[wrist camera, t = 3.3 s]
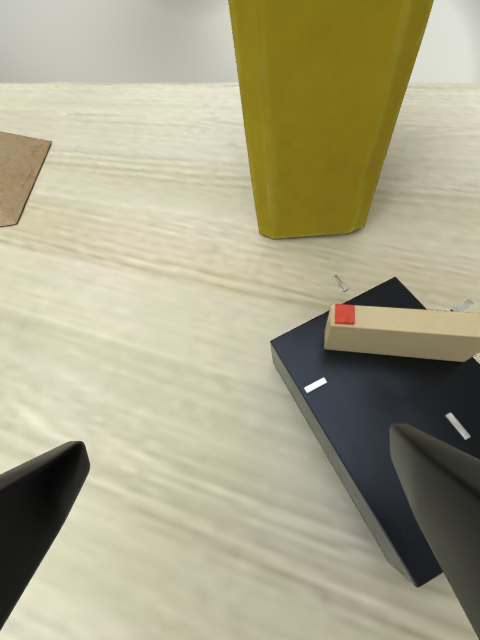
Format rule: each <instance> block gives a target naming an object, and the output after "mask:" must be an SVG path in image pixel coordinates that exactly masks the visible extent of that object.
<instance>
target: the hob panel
mask: <svg viewBox="0 0 480 640" xmlns="http://www.w3.org/2000/svg"><path fill="white" fill-rule="evenodd" d="M332 279H333V280H334V282H335V283H336V284H337V285H338V287H339V288H340V289H341V290H342V291H343V292H345V291H347V290H348V289H347V287H346V286H345V285H344V284H343V283H342V281H341V280H340V279H339V278H338V277H337V275H335V276H333V277H332ZM473 304H474V303H473V302H472V301H470V300H467V301H465V302H463V303H462V304H460V305H458V306H456V307H454V308H452V309H451V311H453V312H460V311H462V310H463V309H465V308H467V307H469V306H471V305H473ZM343 305H357V306H373V307H389V308H405V309H421V310H427V309H426V308H425V307H424V306H423V305H422V304H421V303H420V302H419V301H418V300H417V299H416V298H415V297H414V296H413V294H412V293H411V292H410V291H409V290H408V289H407V288H406V287H405V286H404V285H403V284H402V283H401V282H400V281H399V280H398V279H397V278H396V277H394V278H392V279H390V280H388V281H386V282H384V283H382V284H380V285H378V286H376V287H374V288H372V289H370V290H368V291H366V292H364V293H363V294H361V295H359V296H357V297H355V298H353V299H351V300H349V301H347V302H345V303H343ZM329 312H330V310H329V311H328V312H326V313H324V314H322V315H320V316H318V317H316V318H314V319H312V320H310V321H308V322H306V323H304V324H302V325H300V326H298V327H296V328H295V329H293V330H291V331H289V332H287V333H285V334H283V335H281V336H279V337H277V338H275V339H273V340H271V341H270V343H271V350H272V357H273V364H274V365H275V367H276V369H277V370H278V372H279V374H280V376H281V377H282V379H283V381H284V383H285V384H286V386H287V388H288V389H289V391H290V393H291V395H292V396H293V398H294V400H295V402H296V403H297V405H298V407H299V409H300V410H301V412H302V414H303V415H304V417H305V419H306V421H307V422H308V424H309V426H310V428H311V429H312V431H313V433H314V434H315V436H316V438H317V440H318V441H319V443H320V445H321V447H322V448H323V450H324V452H325V453H326V455H327V457H328V459H329V460H330V462H331V464H332V466H333V467H334V469H335V471H336V473H337V474H338V476H339V478H340V479H341V481H342V483H343V485H344V486H345V488H346V490H347V492H348V493H349V495H350V497H351V498H352V500H353V502H354V504H355V505H356V507H357V509H358V511H359V512H360V514H361V516H362V517H363V519H364V521H365V523H366V524H367V526H368V528H369V530H370V531H371V533H372V535H373V537H374V538H375V540H376V542H377V543H378V545H379V547H380V549H381V550H382V552H383V554H384V556H385V557H386V559H387V561H388V562H389V563H390V564H391V565H392V566H393V567H395V568H396V569H397V570H398V571H399V572H400V573H401V574H403V575H404V576H405V577H406V578H407V579H408V580H409V581H410V582H412V583H413V584H414V585H415V586H416V587H420V586H422V585H424V584H425V583H427V582H428V581H430V580H432V579H433V578H435V577H436V576H438V575H440V574H441V573H443V570H442V568H441V566H440V564H439V562H438V561H437V559H436V557H435V555H434V553H433V551H432V549H431V547H430V545H429V544H428V542H427V540H426V538H425V536H424V534H423V532H422V530H421V528H420V526H419V524H418V522H417V520H416V518H415V516H414V514H413V512H412V509H411V507H410V504H409V502H408V499H407V497H406V495H405V492H404V490H403V487H402V485H401V482H400V480H399V477H398V475H397V472H396V470H395V467H394V465H393V462H392V460H391V456H390V442H389V428H390V425H391V424H401V423H406V424H409V425H411V426H413V427H415V428H417V429H419V430H421V431H423V432H425V433H427V434H429V435H431V436H433V437H435V438H437V439H439V440H441V441H443V442H445V443H447V444H449V445H451V446H453V447H455V448H457V449H459V450H461V451H463V452H465V453H467V454H469V455H471V456H473V457H475V458H477V459H479V460H480V364H479V363H478V362H477V361H476V360H475V359H474V358H473V357H471V358H469V359H468V360H466V361H465V362H458V361H447V360H436V359H425V358H414V357H403V356H393V355H382V354H371V353H360V352H349V351H338V350H327V349H324V338H325V328H326V324H327V320H328V316H329Z"/></svg>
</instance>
